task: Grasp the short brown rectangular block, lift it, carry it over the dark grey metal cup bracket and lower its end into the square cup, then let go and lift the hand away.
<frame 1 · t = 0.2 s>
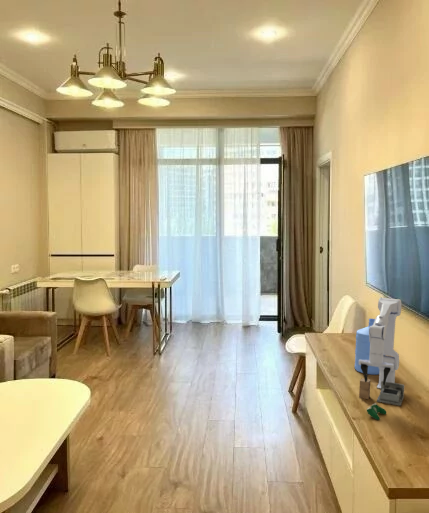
hand: (375, 382, 222), 10 cm above the table, tool pointing down, fingers open, 7 cm apart
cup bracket: (390, 400, 228), on the table
gaming controller: (376, 416, 211), on the table
water jug: (369, 370, 271), on the table
brown rectangular block: (364, 397, 231), on the table
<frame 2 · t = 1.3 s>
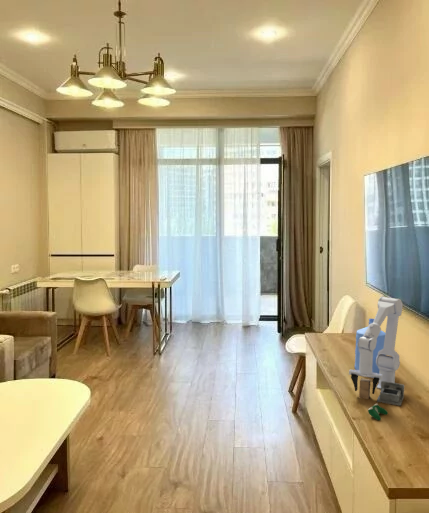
hand: (364, 392, 231), 2 cm above the table, tool pointing down, fingers open, 7 cm apart
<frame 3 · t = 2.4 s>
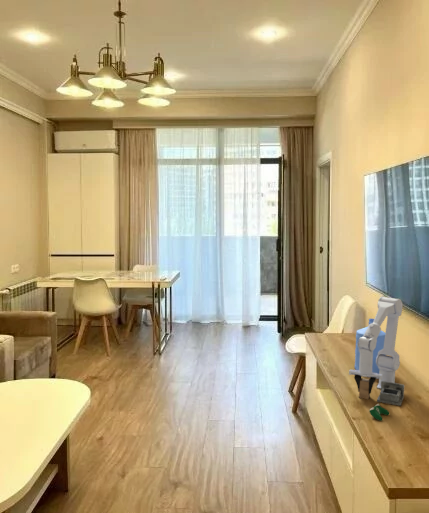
hand: (364, 392, 231), 2 cm above the table, tool pointing down, fingers closed on brown rectangular block, 4 cm apart
brown rectangular block: (364, 397, 231), on the table, touching gripper
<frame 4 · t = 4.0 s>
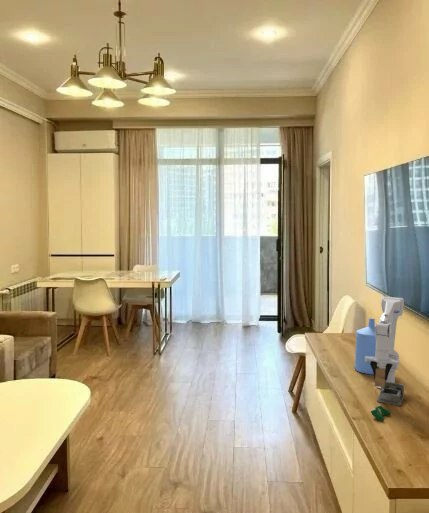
hand: (380, 378, 228), 9 cm above the table, tool pointing down, fingers closed on brown rectangular block, 4 cm apart
brown rectangular block: (380, 385, 229), point 6 cm above the table, touching gripper
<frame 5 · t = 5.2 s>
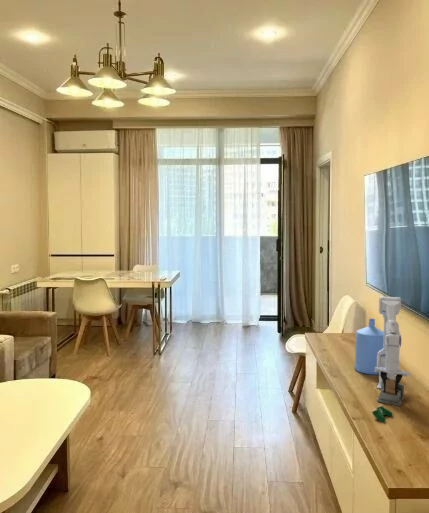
hand: (390, 389, 228), 5 cm above the table, tool pointing down, fingers closed on brown rectangular block, 4 cm apart
brown rectangular block: (390, 396, 228), point 2 cm above the table, touching gripper
when the fingers open (5 cm above the table, at t = 6.0 s): brown rectangular block stays where it is, resting on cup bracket.
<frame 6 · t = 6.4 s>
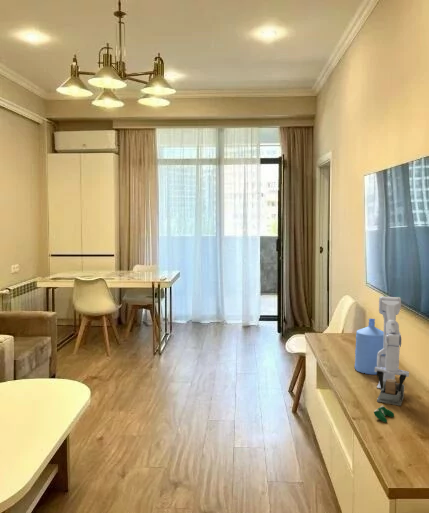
hand: (390, 389, 228), 5 cm above the table, tool pointing down, fingers open, 7 cm apart
brown rectangular block: (390, 397, 228), point 1 cm above the table, touching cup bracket
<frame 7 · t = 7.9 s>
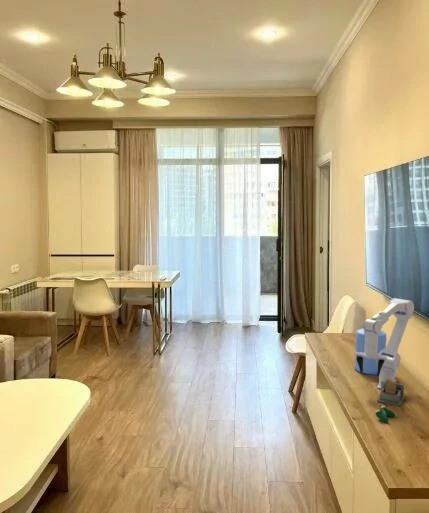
hand: (369, 373, 235), 9 cm above the table, tool pointing down, fingers open, 7 cm apart
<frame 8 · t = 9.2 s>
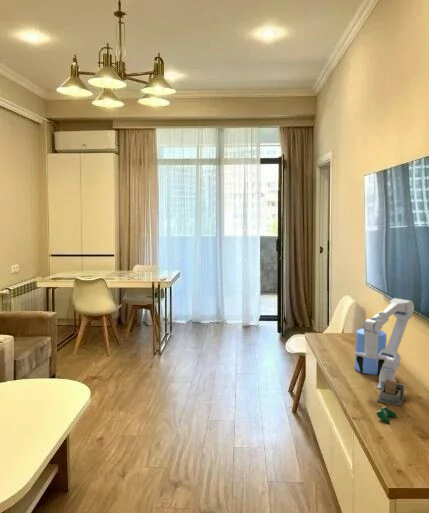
hand: (369, 373, 235), 9 cm above the table, tool pointing down, fingers open, 7 cm apart
at the end: brown rectangular block 0.1 cm off-centre on the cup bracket, point 1.0 cm above the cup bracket's base; brown rectangular block tilted 0°; the gripper is holding nothing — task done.
